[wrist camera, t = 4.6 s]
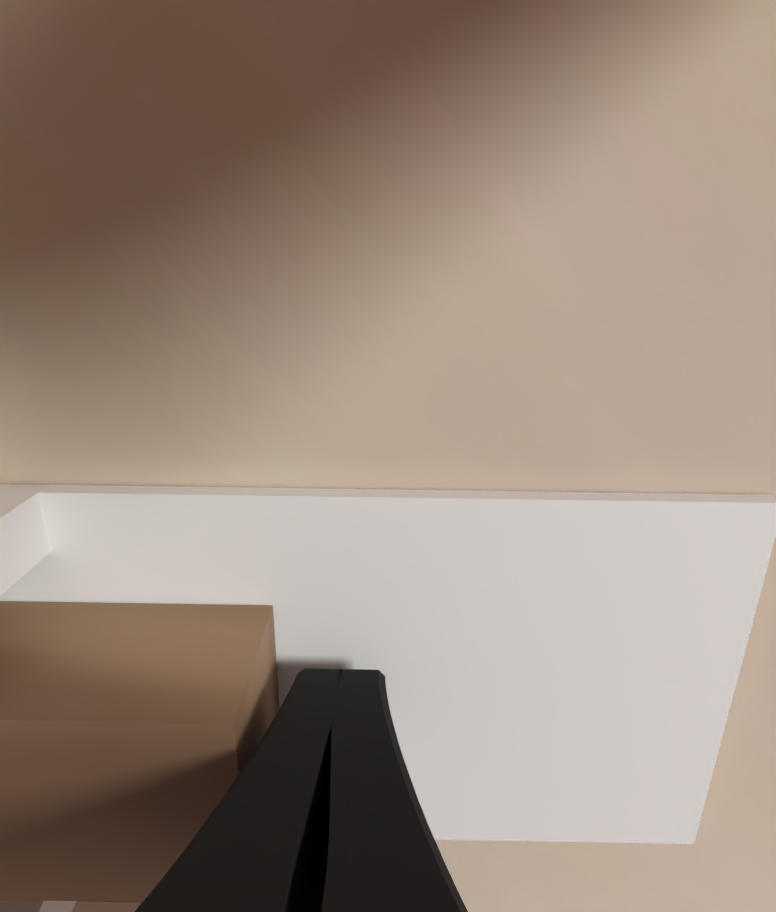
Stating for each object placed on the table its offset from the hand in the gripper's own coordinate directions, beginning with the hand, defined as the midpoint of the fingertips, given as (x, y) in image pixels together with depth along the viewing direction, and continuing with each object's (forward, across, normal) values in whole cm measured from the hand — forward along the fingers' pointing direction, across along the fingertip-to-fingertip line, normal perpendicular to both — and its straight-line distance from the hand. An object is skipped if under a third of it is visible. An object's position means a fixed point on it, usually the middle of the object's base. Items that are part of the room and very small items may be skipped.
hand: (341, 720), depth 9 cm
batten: (+1, +5, 0) cm, 5 cm away
